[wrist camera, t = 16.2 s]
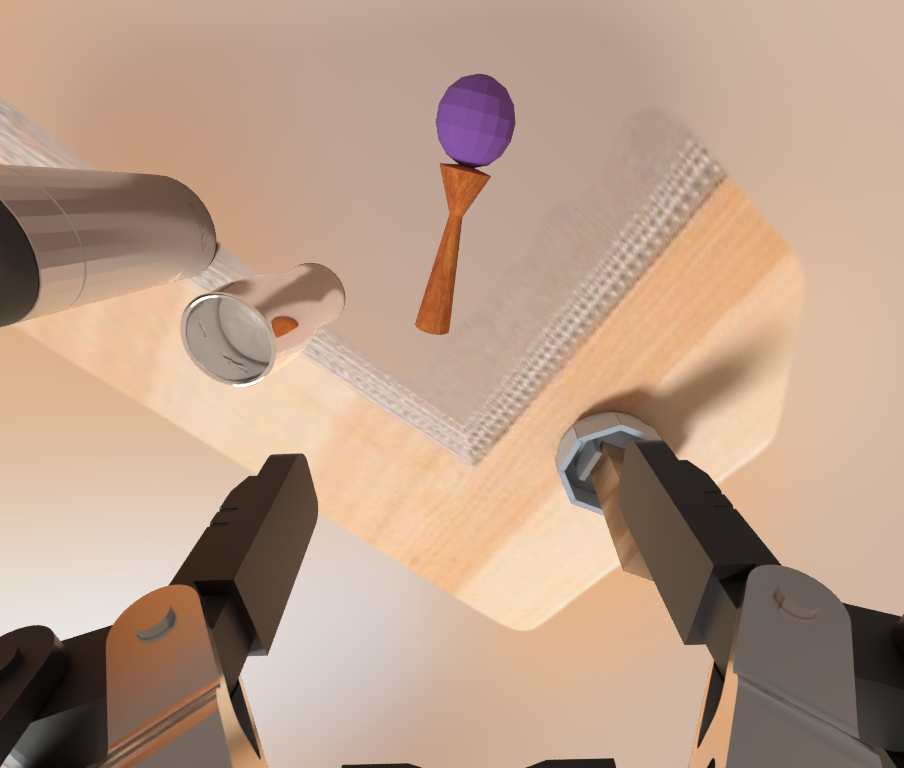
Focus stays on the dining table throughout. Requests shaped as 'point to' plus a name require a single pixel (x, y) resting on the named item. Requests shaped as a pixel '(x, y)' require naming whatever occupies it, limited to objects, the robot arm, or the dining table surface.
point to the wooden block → (616, 508)
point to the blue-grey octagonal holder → (594, 451)
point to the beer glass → (259, 322)
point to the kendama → (463, 176)
